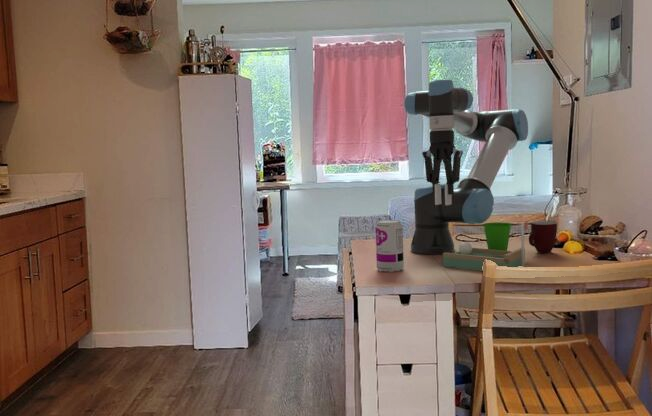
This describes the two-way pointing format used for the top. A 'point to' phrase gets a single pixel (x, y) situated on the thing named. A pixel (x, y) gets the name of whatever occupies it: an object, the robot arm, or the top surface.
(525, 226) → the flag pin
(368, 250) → the top surface
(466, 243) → the ball
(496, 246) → the cup
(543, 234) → the mug
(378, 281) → the top surface
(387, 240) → the supplement can
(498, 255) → the green tray
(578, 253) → the top surface
